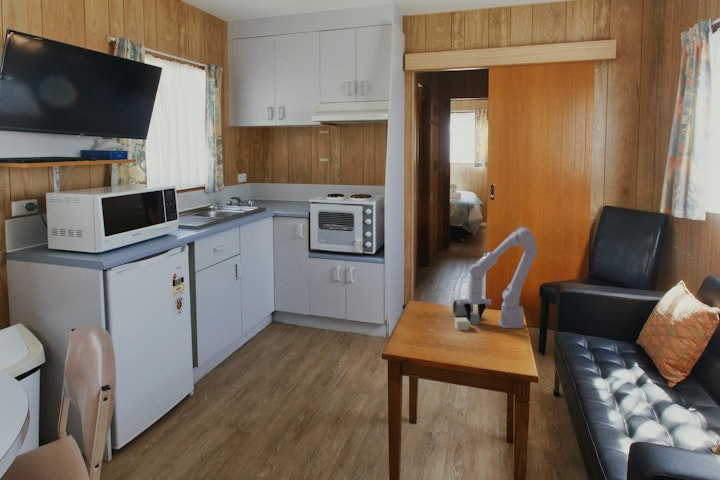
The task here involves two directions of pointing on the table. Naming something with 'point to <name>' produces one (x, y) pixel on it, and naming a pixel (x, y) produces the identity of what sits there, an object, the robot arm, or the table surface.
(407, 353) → the table surface
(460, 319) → the cream block
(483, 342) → the table surface
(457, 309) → the ceramic mug
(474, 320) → the blue cube
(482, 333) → the table surface
